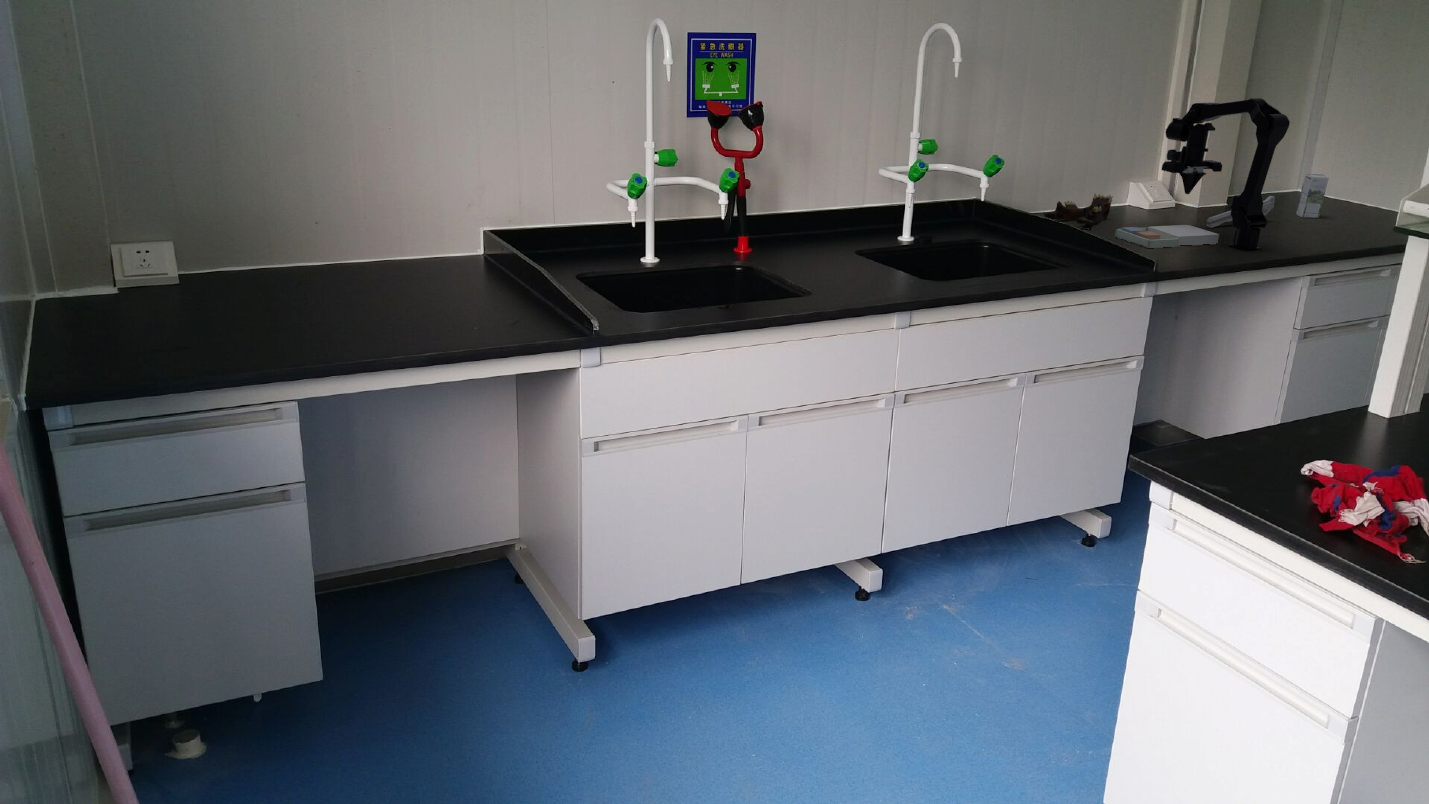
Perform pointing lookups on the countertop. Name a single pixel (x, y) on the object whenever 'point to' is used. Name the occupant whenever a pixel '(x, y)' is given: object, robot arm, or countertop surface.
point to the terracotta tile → (1148, 235)
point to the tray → (1146, 240)
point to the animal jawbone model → (1083, 211)
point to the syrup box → (1312, 195)
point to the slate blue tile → (1132, 230)
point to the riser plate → (1186, 234)
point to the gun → (1267, 206)
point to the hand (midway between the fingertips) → (1187, 193)
